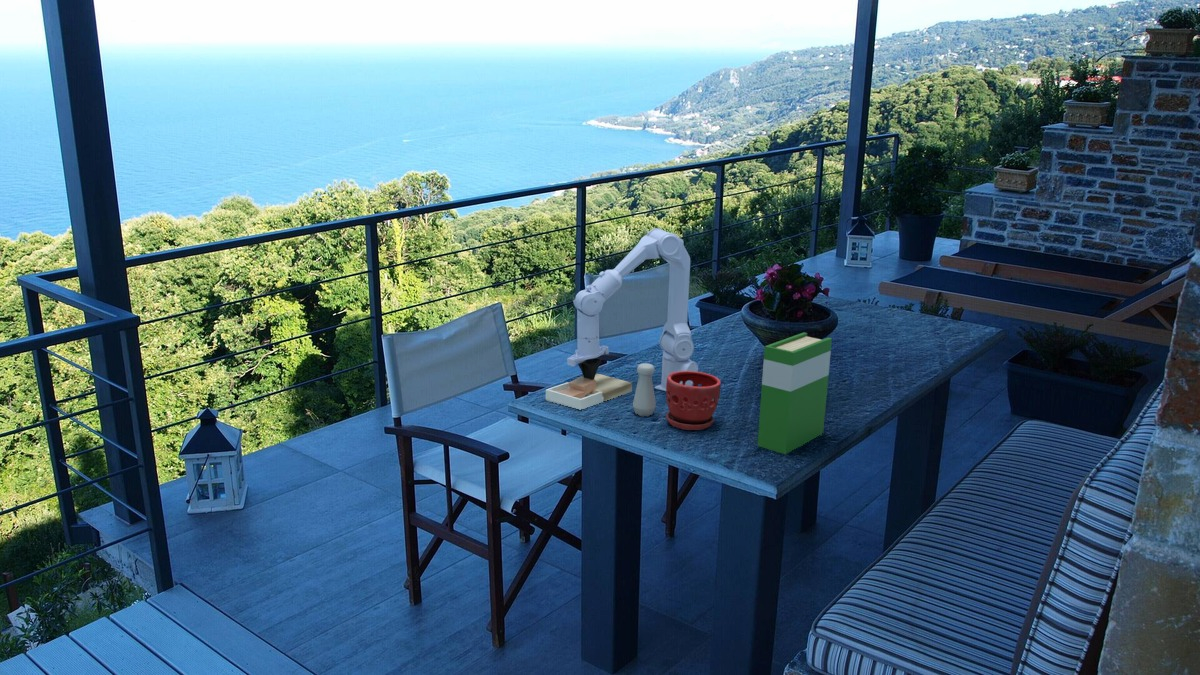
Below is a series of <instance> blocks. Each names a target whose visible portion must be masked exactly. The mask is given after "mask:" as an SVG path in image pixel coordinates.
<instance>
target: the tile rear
mask: <svg viewBox="0 0 1200 675" xmlns="http://www.w3.org/2000/svg"><path fill="white" fill-rule="evenodd" d="M568 383H569V387H570V388H573V389H576V390H580V391H583V392H585V395H586V394H588V393H590V392H592V391H593V390H595V389H597V387H596V380H594V379H593V380H591V379H588V378H584V377H583V375H581V376H579V377H577V378H575V379H573V380H572V381H570V382H568Z"/></svg>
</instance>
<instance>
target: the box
mask: <svg viewBox="0 0 1200 675" xmlns="http://www.w3.org/2000/svg"><path fill="white" fill-rule="evenodd" d="M568 388H570V387H569V382H564V383H562V384H558V385H555V386H552V387H549V388H547V389H545V401H546V402H550V403H552V402H553V403H552V404H555V403H557V404H556V405H559V404H561V405H560V406H562V405H564V406H563V407H565V406H568V407H572V408H576V409H579V410H581V409H585V408H587V407H590V406H593V405H596V404H598V405H600V404H599V403H601V402H603V401H604V397H602V392H598V393H595V394H591V393H588V394H586V395H585V397H584V398H582V399H579V398H576V397H572V396H569V395H565V394H562V393H559V391H562V390H565V389H568ZM603 403H604V402H603ZM601 404H602V403H601ZM596 406H597V405H596ZM568 407H567V408H568ZM593 407H594V406H593ZM572 408H571V409H572ZM590 408H591V407H590ZM585 410H586V409H585Z"/></svg>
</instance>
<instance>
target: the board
mask: <svg viewBox="0 0 1200 675" xmlns="http://www.w3.org/2000/svg"><path fill="white" fill-rule="evenodd" d="M594 380H596V387H597V389H595V390H593V391H592V392H590V393H591V394H595V393H598V392H602V397H604V401H606V402H608V401H607V400H609V401H611V400H614V399H617V398H619V397H621V395H622V396H623V395H626V394H629V393H632V392H633V382H630V381H626V380H624V379H619V378H615V377H612V376H608V375H604V374H601V373H596V375H595V378H594ZM618 396H619V397H618ZM613 398H614V399H613ZM610 399H611V400H610Z"/></svg>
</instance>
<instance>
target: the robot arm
mask: <svg viewBox="0 0 1200 675" xmlns="http://www.w3.org/2000/svg"><path fill="white" fill-rule="evenodd" d="M684 242H685V241H684V240H683V239H682V238H681V237H679V236H678V235H677V234H675V233H671V232H668V231H665V230H663V229H662V228H659V227H658V228H655V227H654V228H652V229H651V230H649V231H648V232H647V234H645V235H644V236H643V237H641V238H640V240H639V241H638V243H637V244H636V245H635V246H634V247H633V248H632V250H630V252H629V253H628V254H627V255H626V256H624V258H623V259H621V261H620V262H619V263H618V264H617V265H616V266H615V268H612V269H606V270H603V271H600V272H599V273H598V275H599V276H598V277H597V278H596V279H595V280H594V281H592V283H591V284H588V285H587V286H585V288H586V289H583V290H580V291H578V293H576V295H575V298H574V300H573V305H574V307H575V309H576V310H577V313H576V314H577V316H576V317H577V318H576V321H577V322H576V332H577V333H576V334H577V339H576V342H577V345H576V346H577V349H574V354H572V355H571V356H569V357H567V359H566V360H567V361H566V363H567V366H570V367H576V365H577V366H578V367H579V370H580V371H581V373H582V376H583V377H584V378H588V379H591V380H593V379H594V378H595V375H596V374H597V371H598V369H599V367H600V366H601V364H602V360H601V359H599V358H598V357H600V356H603V355H609V354H610V350H609V349H610V348H609V346H607V345H600V313H601V311H602V309H603V307H604V303H605V302H606V301H607V300H608V299H610V297H612V296H613V295H614V293H616V292H617V291H618V290H619V289H621V287H622V285H623V279H624V278H625V277H627V275H629V274H630V273H631V272H633V271H634V270H635V269H636V268H637V267H639V265H641V264H642V263H643V262H644V261H646V260H651V259H653V260H654V259H660V257H661V258H662V259H663V260H664V261H666V262H667V263H668V264H669V273H668V274H669V275H668V276H669V277H668V296H667V297H668V298H667V301H668V302H667V318H666V319H667V320H666V323H665V324H663V326H662V327H663V328H662V333H661V336H660V337H659V342H658V343H659V347H660V348H661V350H662V358H661V360H662V361H661V363H662V365H661V384H658V385H655V386H654V390H655V389H656V390H660V391H662V392H663V391H664V392H666V384H667V377H668V375H669V374H671V373H674V372H679V371H695V372H699V366H698V363H697V362H695V361H693V360H691V359H690V357H691V356H692V355H693V353H694V349H695V347H694V343H693V340H692V332H691V330H690V327H689V325H688V315H689V314H688V313H689V312H688V311H689V295H690V275H691V274H690V273H691V272H690V271H691V257H690V254H689V253H688V250H687V249H686V247H685V244H684ZM682 383H683V382H682V381H681V382H680V384H682ZM685 385H687V386H693V382H692V381H691V380H688V381H686V383H685Z"/></svg>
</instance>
